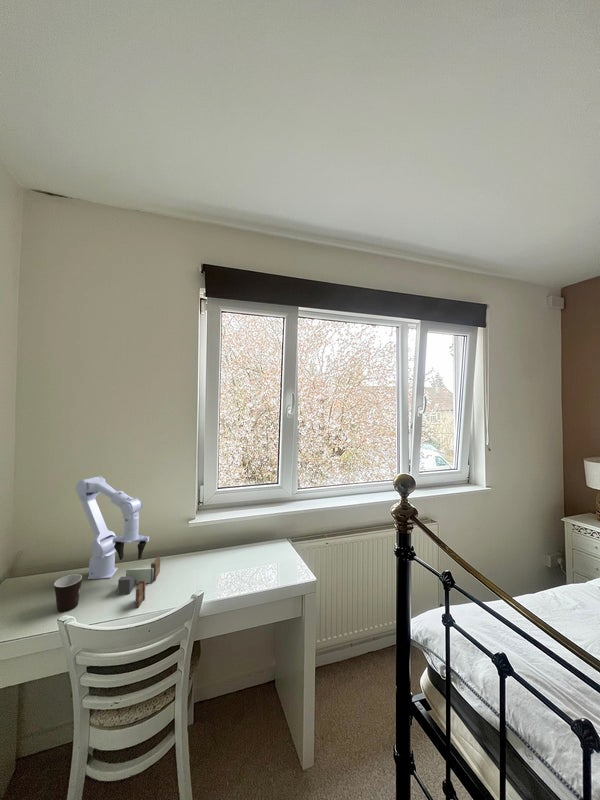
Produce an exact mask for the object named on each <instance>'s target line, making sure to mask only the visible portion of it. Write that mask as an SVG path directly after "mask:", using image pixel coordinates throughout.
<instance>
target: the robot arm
mask: <svg viewBox="0 0 600 800" xmlns="http://www.w3.org/2000/svg"><path fill="white" fill-rule="evenodd" d="M74 489H75V491H76V495H77V496H78V500H79V501H80V503H81V506H82V508H83V510H84V513H85V516H86V518H87V520H88V523H89V526H90V528H91V530H92V531H91V532H92V533H93V536H94V537H93V538H92V540H91V541H90V546H91V547H90V548H91V553H92V554H91V557H90V559H89V563H88V577H87V579H88V580H95V579H99V580H100V579H111V578H112V577H113V575H114V574H115V573H117V571H118V570H119V567H116V566H115V565H116V564H115V561H116V560H115V559H116V552H117V555H118V558H119V559H118V560H119V561H122V560H123V559H124V556H125V555H124V553H125V552H124V548H125V544H130V543H138V544H137V550H138V551H137V553H138V556H137V558H138V559H137V560H141V559H142V557H143V553H144V550H145V547H146V544H147V543H148V542H149V541H150V536H149V535H148V536H147V535H140V534H139V529H140V527H139V526H140V523H139V522H140V511H141V510H142V508H143V502H142V501H141V499H140V498H139V497H132V496H130V495H128V494H126V493H125V491H123V490H118V491H117V490H115V489H114V488H113V487H112V486H110V485H109V484H108V483H107V482H106V479H105V478H104V477H102V476H101V475H97V476H94V477H90V478H85V479H80V480H78V481H77V483H76V486H75V488H74ZM99 494H102V495H104V496H106V497H108V498H109V499H110V502H111V503H112V504H114V505H115V506H116V507H118V508H119V509H120V512H121V514H122V518H123V535H122V536H116V534H115V532H114V531H112V530H109V529H108V527H107V524H106V522H105V519H104V517H103V515H102V513H101V510H100V507H99V505H98V502H97V500H96V498H97V497H98V495H99Z"/></svg>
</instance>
